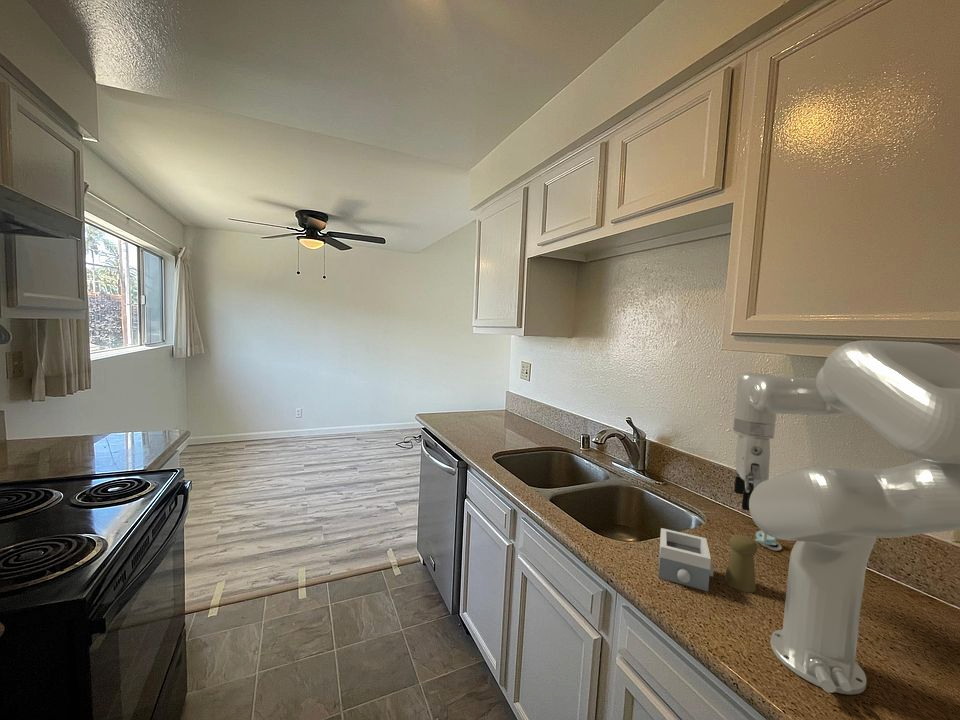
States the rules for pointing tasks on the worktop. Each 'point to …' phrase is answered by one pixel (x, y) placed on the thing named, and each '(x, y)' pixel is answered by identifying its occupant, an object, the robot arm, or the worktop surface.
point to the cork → (741, 564)
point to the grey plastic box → (684, 559)
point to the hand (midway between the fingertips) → (746, 501)
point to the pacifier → (767, 541)
